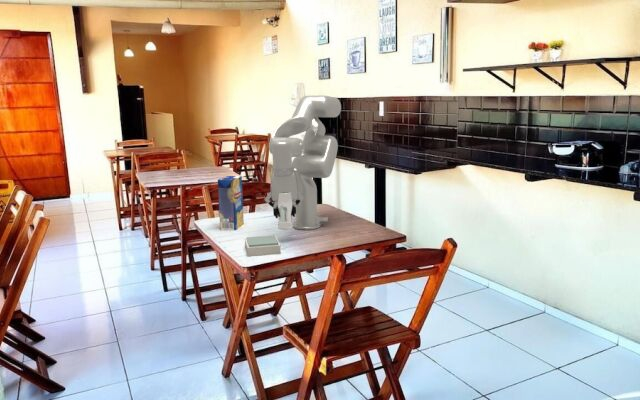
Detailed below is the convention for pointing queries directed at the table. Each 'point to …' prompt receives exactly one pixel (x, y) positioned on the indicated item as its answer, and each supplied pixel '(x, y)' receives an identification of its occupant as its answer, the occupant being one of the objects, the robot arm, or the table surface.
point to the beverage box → (230, 202)
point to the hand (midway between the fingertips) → (285, 216)
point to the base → (262, 245)
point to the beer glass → (285, 211)
